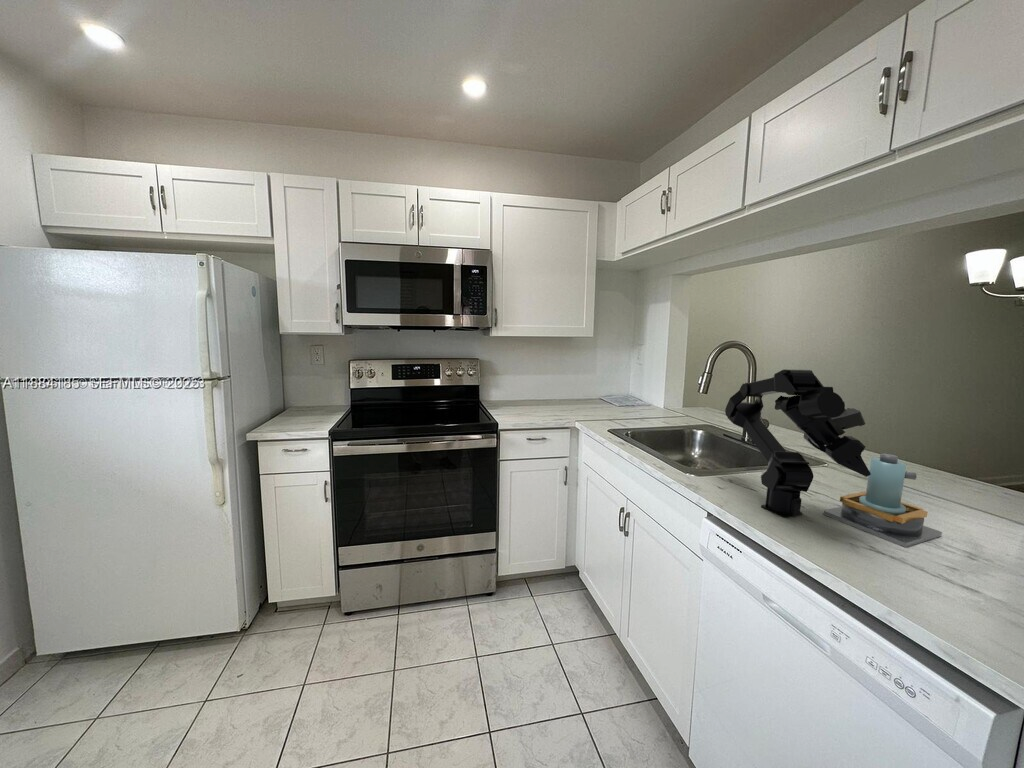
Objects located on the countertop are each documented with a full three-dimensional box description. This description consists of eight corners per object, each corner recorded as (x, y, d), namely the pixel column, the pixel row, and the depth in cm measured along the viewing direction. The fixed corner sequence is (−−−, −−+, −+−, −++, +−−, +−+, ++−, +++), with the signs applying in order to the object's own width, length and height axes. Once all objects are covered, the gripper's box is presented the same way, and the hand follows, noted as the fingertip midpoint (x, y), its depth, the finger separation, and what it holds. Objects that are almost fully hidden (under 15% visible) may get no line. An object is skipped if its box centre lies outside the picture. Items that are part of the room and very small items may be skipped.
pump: (863, 511, 91) (871, 457, 89) (854, 498, 98) (862, 448, 96) (915, 520, 87) (924, 464, 85) (902, 507, 94) (911, 454, 92)
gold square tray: (823, 514, 98) (825, 494, 97) (857, 506, 103) (860, 487, 102) (905, 547, 83) (909, 524, 82) (941, 536, 88) (945, 514, 87)
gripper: (859, 403, 82) (918, 460, 80) (824, 391, 100) (872, 437, 98) (810, 435, 86) (865, 491, 84) (784, 418, 104) (829, 464, 101)
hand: (858, 468), depth 92 cm, fingers open, 9 cm apart
